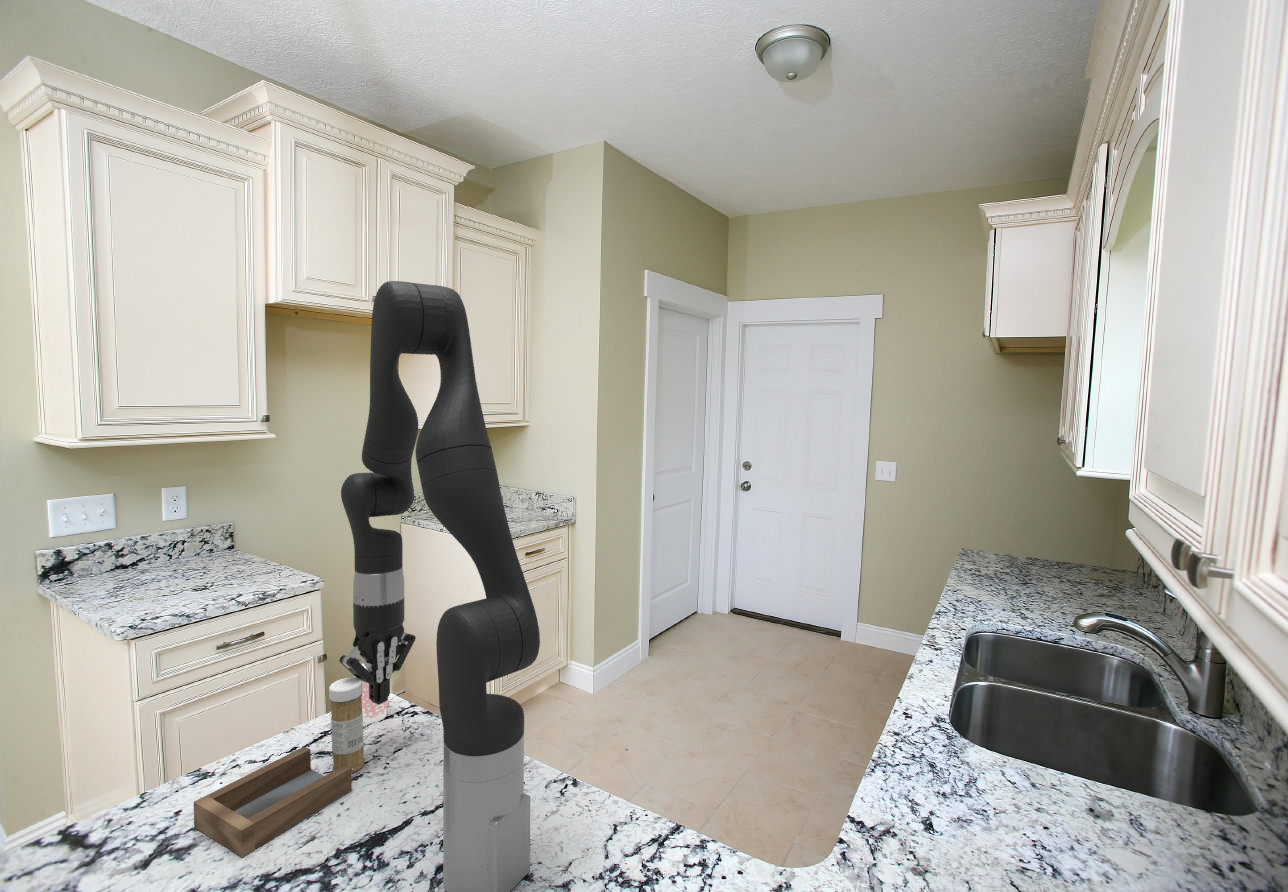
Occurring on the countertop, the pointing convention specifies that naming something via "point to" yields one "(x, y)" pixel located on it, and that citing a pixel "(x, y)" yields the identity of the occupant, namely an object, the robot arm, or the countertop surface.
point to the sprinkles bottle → (347, 723)
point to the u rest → (268, 802)
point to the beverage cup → (371, 706)
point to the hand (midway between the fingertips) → (379, 701)
